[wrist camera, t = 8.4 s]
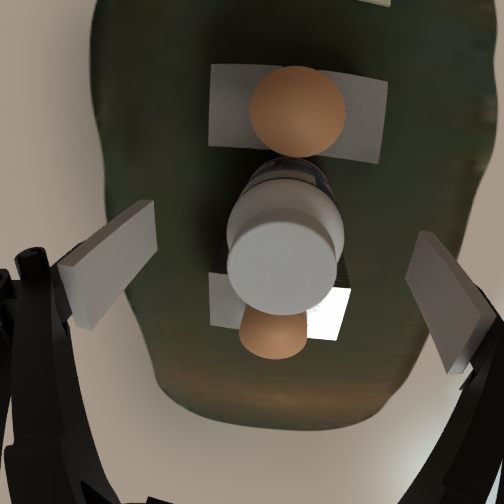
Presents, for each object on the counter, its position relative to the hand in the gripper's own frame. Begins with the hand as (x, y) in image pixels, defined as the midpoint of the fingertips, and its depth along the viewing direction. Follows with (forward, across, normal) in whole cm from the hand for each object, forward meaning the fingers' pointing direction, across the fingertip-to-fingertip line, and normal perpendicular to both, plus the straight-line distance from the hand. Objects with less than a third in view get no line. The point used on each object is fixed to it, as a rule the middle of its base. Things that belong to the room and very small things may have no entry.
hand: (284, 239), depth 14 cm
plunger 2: (+4, 0, -5) cm, 6 cm away
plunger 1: (+4, 0, +6) cm, 7 cm away
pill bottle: (+5, 0, 0) cm, 5 cm away
